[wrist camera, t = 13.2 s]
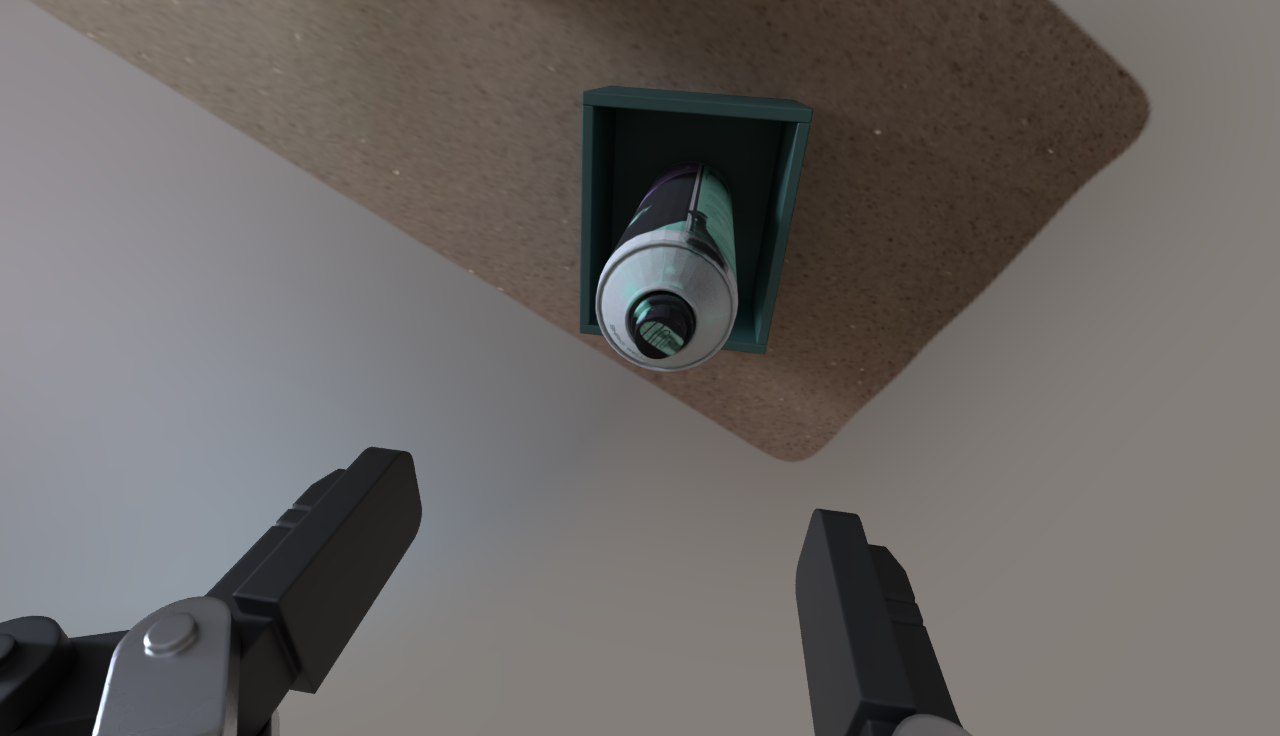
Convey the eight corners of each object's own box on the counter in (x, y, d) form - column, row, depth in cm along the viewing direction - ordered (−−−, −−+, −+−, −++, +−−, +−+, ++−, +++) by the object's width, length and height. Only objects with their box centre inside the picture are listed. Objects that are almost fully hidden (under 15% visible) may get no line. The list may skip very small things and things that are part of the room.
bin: (609, 85, 34) (581, 91, 27) (795, 100, 33) (813, 109, 26) (602, 288, 40) (579, 333, 34) (757, 305, 39) (764, 354, 33)
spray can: (655, 152, 35) (588, 243, 17) (741, 169, 34) (760, 280, 17) (640, 236, 37) (569, 389, 20) (720, 253, 37) (718, 421, 20)
